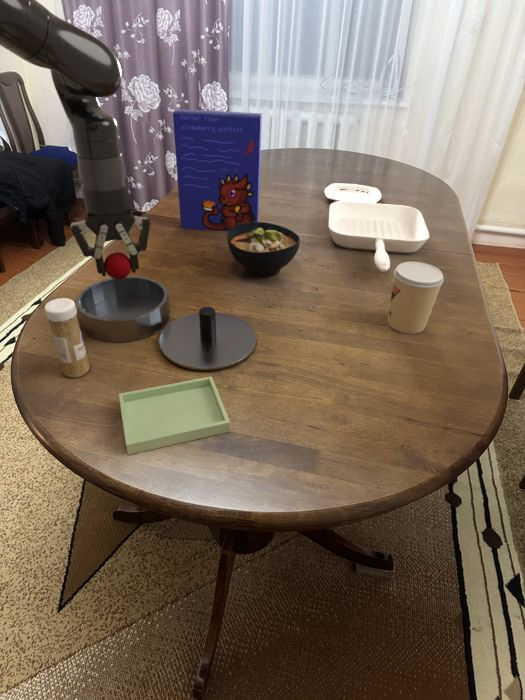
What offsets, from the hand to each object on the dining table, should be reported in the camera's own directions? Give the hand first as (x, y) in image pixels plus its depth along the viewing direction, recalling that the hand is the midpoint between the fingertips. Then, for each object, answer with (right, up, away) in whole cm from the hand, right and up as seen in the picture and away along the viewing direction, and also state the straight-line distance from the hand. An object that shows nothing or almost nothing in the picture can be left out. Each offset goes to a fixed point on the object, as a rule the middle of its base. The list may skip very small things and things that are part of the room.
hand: (118, 272), depth 89 cm
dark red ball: (0, +1, -1) cm, 1 cm away
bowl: (+27, +5, +26) cm, 38 cm away
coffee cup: (+57, -9, +8) cm, 59 cm away
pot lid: (+17, -13, 0) cm, 21 cm away
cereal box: (+15, +21, +47) cm, 53 cm away
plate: (+58, +37, +70) cm, 99 cm away
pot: (0, -8, +6) cm, 10 cm away
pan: (+58, +14, +39) cm, 72 cm away
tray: (+13, -25, -16) cm, 33 cm away
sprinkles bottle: (-5, -19, -7) cm, 21 cm away
